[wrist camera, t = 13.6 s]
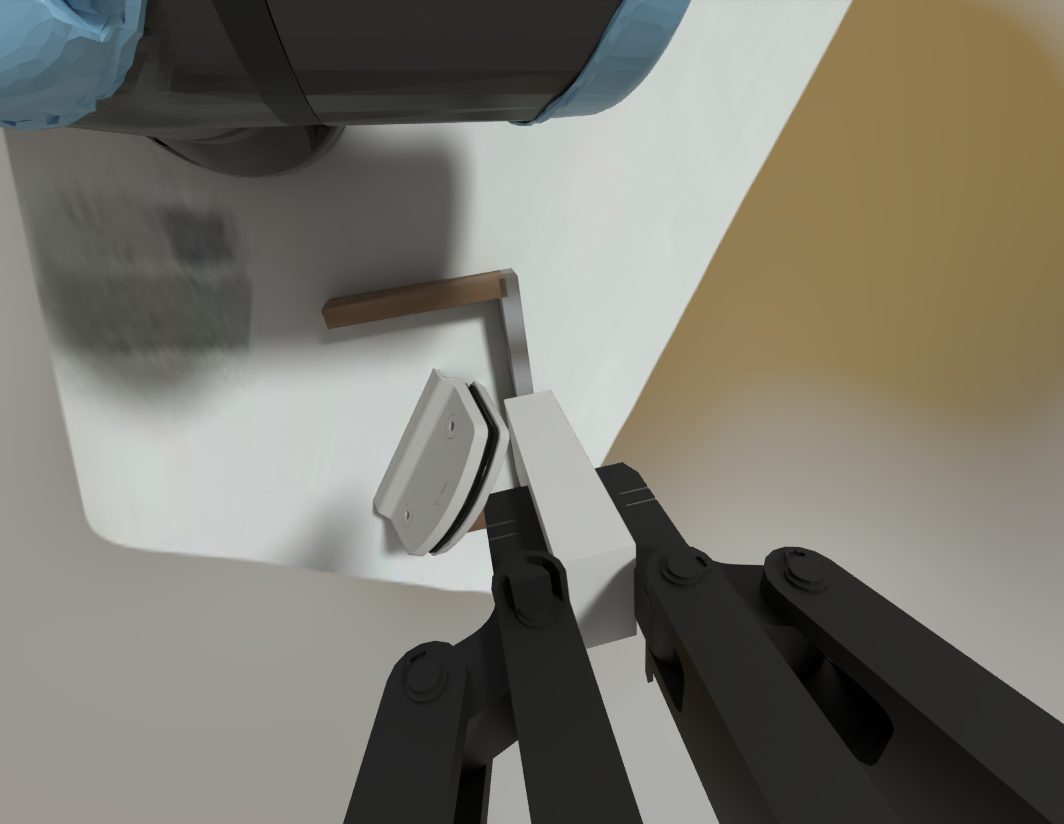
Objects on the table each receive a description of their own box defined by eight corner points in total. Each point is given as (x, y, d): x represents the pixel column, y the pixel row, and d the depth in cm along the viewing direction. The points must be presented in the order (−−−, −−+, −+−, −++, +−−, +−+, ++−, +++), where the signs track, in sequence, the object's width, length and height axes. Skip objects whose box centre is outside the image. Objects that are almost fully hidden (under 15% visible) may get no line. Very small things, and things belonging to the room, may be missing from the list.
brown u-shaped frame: (329, 299, 36) (321, 309, 33) (511, 268, 38) (517, 275, 35) (409, 526, 48) (408, 546, 46) (543, 495, 50) (550, 512, 47)
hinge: (435, 364, 40) (479, 429, 33) (478, 375, 43) (526, 436, 37) (371, 502, 46) (398, 582, 39) (414, 503, 49) (445, 577, 42)
